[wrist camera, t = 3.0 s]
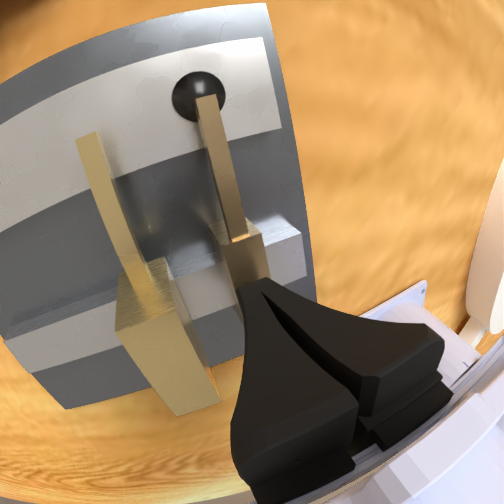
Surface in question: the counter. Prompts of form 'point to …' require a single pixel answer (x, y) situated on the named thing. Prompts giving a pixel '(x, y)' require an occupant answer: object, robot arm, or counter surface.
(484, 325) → the white circle with bar
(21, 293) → the grey mechanism base plate
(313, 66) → the counter surface
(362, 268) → the counter surface
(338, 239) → the counter surface
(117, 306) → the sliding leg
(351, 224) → the counter surface
